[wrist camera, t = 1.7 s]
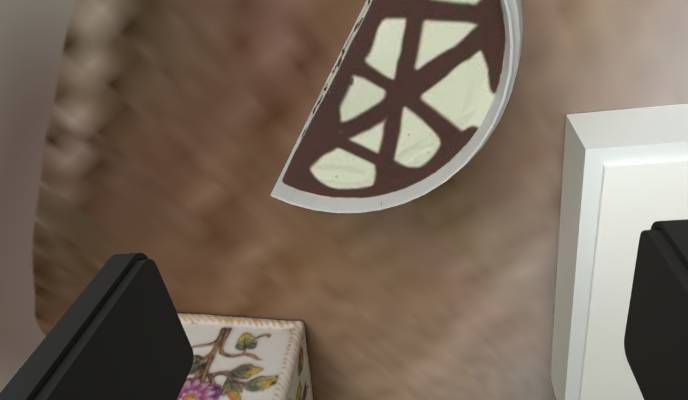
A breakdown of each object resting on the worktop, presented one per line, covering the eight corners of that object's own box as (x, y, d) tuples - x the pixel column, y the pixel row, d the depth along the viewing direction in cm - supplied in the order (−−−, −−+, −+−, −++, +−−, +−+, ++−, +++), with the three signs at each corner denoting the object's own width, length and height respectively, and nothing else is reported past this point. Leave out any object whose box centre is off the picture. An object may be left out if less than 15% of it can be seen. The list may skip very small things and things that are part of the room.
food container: (411, 158, 29) (403, 273, 21) (313, 107, 29) (265, 205, 20) (554, -59, 23) (627, -17, 14) (433, -133, 22) (435, -134, 14)
